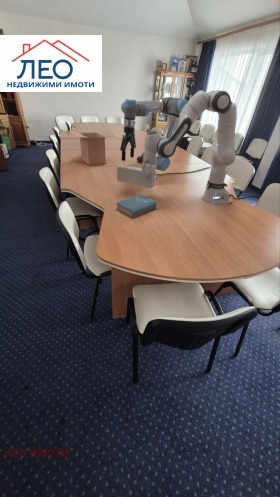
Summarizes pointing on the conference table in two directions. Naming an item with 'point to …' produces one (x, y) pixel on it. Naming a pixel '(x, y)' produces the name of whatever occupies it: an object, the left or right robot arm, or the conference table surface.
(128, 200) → the book
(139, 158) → the laser sight
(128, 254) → the conference table surface
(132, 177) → the long box
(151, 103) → the left robot arm
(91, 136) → the box
